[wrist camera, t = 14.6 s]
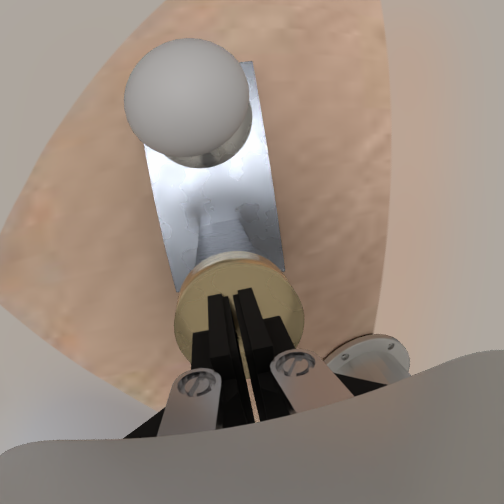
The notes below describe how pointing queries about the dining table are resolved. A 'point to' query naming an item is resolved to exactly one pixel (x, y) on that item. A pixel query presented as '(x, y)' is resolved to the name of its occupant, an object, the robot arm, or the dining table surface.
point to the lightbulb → (186, 97)
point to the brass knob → (228, 282)
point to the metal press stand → (218, 197)
